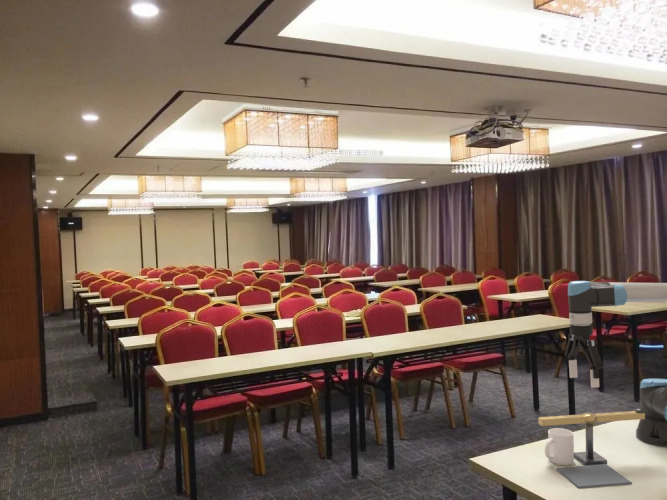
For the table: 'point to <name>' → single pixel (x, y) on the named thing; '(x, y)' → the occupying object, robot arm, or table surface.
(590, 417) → the lever
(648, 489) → the table surface
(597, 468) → the felt mat
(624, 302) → the robot arm
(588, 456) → the lever post
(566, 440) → the mug
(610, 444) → the table surface
